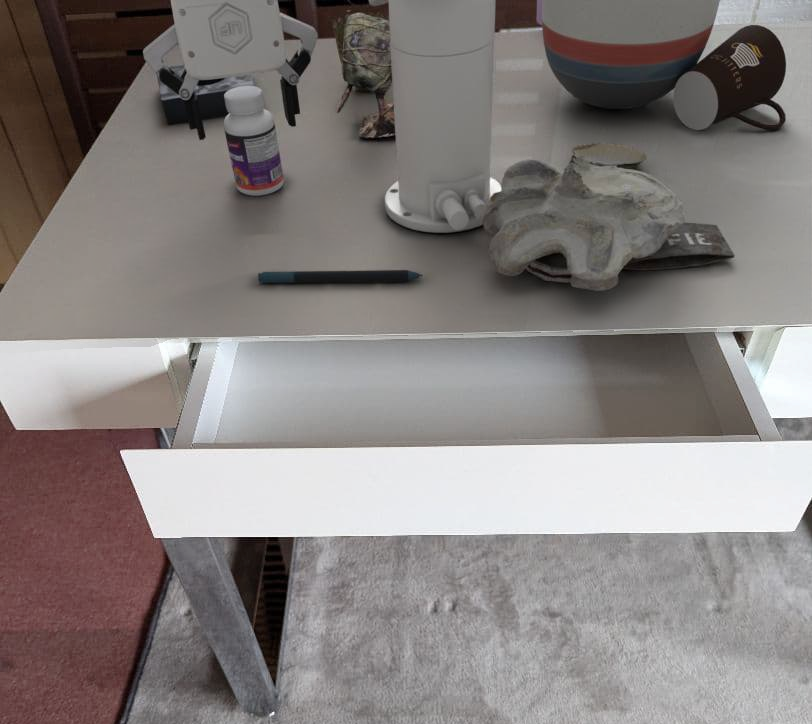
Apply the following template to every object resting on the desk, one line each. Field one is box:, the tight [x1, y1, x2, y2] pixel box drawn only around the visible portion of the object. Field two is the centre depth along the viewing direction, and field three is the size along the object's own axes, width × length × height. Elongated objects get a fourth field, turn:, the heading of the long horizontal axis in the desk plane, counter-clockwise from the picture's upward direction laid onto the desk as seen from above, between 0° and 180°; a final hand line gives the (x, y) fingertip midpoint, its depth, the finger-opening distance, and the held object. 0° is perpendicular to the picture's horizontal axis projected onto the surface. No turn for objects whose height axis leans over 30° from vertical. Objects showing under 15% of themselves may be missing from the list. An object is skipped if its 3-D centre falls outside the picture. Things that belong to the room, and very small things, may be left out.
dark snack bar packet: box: [525, 222, 735, 284], centre depth 75 cm, size 8×19×2 cm, turn 93°
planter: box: [541, 0, 721, 110], centre depth 92 cm, size 20×20×21 cm
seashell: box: [571, 142, 647, 169], centre depth 87 cm, size 8×3×8 cm
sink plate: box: [156, 64, 256, 126], centre depth 106 cm, size 12×12×3 cm
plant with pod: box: [335, 9, 395, 139], centre depth 91 cm, size 8×11×20 cm
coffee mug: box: [672, 24, 787, 131], centre depth 92 cm, size 12×9×10 cm
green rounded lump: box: [332, 12, 389, 93], centre depth 105 cm, size 8×7×8 cm
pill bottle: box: [223, 85, 285, 197], centre depth 86 cm, size 5×5×10 cm
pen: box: [257, 269, 424, 284], centre depth 75 cm, size 16×1×1 cm, turn 86°
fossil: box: [482, 154, 686, 292], centre depth 73 cm, size 18×11×15 cm
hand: (246, 128), depth 85 cm, fingers open, 9 cm apart
